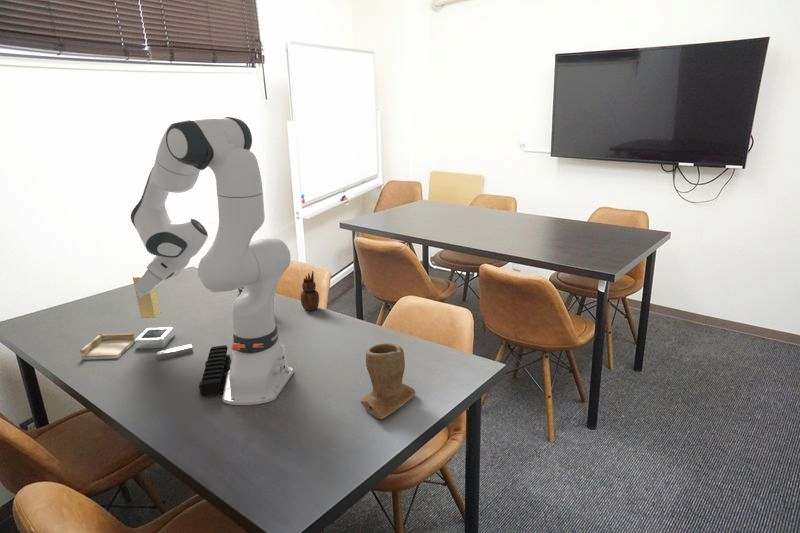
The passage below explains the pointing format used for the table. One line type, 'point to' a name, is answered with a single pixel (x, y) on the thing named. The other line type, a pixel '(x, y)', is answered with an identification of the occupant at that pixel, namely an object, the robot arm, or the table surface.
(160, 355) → the gray rectangular bar
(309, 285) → the wooden figurine
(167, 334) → the socket collar
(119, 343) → the rack plate
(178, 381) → the table surface
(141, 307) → the yellow wooden block
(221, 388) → the rail mount
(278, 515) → the table surface
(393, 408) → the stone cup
